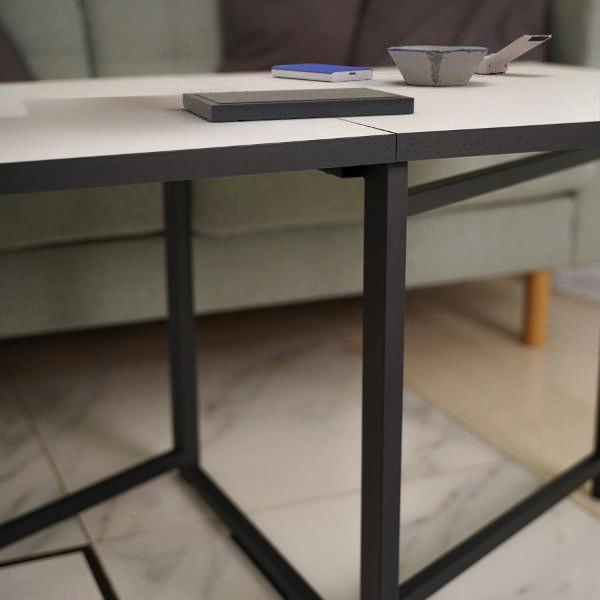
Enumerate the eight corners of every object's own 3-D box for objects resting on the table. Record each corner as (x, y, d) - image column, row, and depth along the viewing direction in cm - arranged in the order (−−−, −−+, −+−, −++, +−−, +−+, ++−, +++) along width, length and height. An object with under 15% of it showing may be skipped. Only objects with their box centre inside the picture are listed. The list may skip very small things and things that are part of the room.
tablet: (211, 122, 81) (211, 104, 81) (183, 108, 92) (182, 92, 92) (414, 113, 88) (414, 97, 87) (364, 101, 98) (365, 86, 98)
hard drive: (271, 65, 131) (331, 70, 122) (312, 63, 136) (373, 67, 127) (271, 77, 131) (331, 82, 122) (312, 73, 136) (373, 79, 128)
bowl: (504, 83, 121) (507, 45, 119) (451, 89, 112) (453, 49, 110) (423, 78, 129) (425, 42, 127) (367, 84, 120) (368, 45, 118)
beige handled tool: (528, 34, 127) (403, 29, 146) (524, 78, 129) (401, 67, 148) (555, 34, 131) (430, 29, 149) (551, 76, 133) (428, 66, 151)
